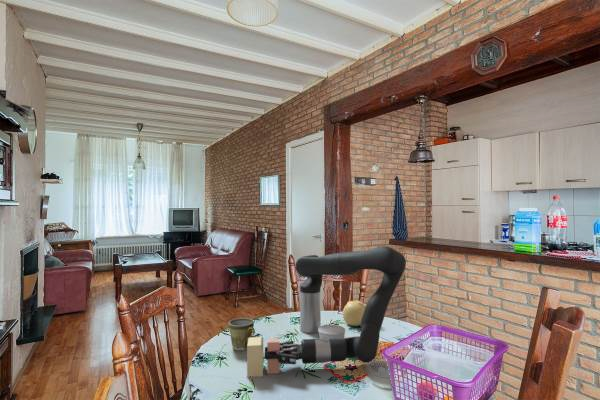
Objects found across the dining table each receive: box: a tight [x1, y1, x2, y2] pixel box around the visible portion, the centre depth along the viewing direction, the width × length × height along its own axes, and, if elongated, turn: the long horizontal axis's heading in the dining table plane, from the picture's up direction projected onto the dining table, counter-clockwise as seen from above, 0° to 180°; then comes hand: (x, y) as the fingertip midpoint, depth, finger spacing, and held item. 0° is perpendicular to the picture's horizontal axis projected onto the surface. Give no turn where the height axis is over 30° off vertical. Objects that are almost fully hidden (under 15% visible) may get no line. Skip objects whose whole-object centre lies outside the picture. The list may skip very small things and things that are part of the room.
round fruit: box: [342, 300, 367, 327], centre depth 159 cm, size 12×12×11 cm
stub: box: [266, 338, 281, 374], centre depth 112 cm, size 4×3×10 cm
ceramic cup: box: [228, 317, 256, 351], centre depth 130 cm, size 13×10×10 cm
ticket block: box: [246, 336, 267, 378], centre depth 111 cm, size 6×7×10 cm
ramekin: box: [317, 324, 346, 339], centre depth 137 cm, size 11×11×5 cm
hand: (265, 353), depth 112 cm, fingers open, 3 cm apart
